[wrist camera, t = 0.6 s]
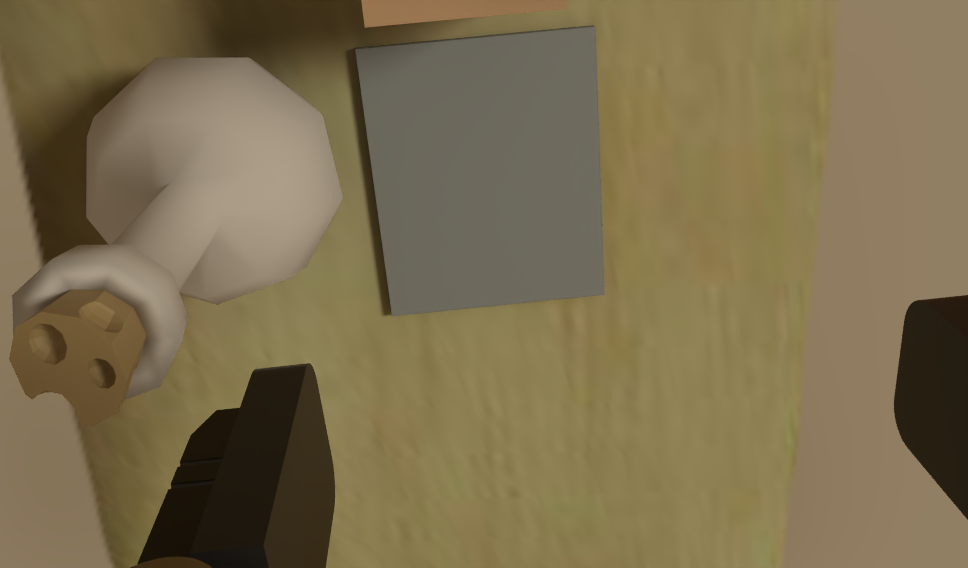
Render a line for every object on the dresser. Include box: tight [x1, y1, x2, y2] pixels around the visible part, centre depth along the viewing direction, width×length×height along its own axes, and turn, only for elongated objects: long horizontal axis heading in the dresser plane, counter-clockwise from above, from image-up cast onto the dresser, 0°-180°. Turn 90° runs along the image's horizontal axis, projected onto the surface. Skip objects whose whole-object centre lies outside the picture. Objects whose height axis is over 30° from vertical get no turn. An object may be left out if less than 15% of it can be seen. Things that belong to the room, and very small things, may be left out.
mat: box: [355, 25, 604, 316], centre depth 35 cm, size 11×9×1 cm
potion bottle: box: [9, 57, 343, 426], centre depth 26 cm, size 9×9×18 cm
